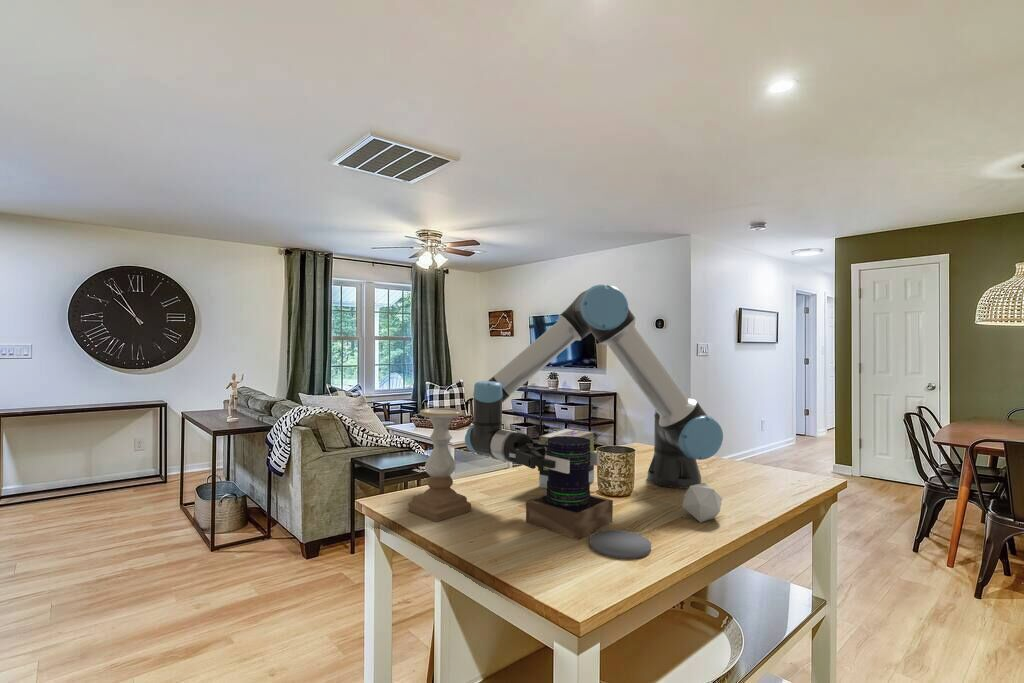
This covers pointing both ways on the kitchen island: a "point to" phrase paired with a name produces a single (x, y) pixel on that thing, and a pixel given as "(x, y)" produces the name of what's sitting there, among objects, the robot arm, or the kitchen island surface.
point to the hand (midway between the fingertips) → (583, 463)
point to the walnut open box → (569, 516)
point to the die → (702, 502)
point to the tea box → (566, 432)
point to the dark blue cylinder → (569, 474)
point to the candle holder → (440, 472)
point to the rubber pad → (620, 544)
